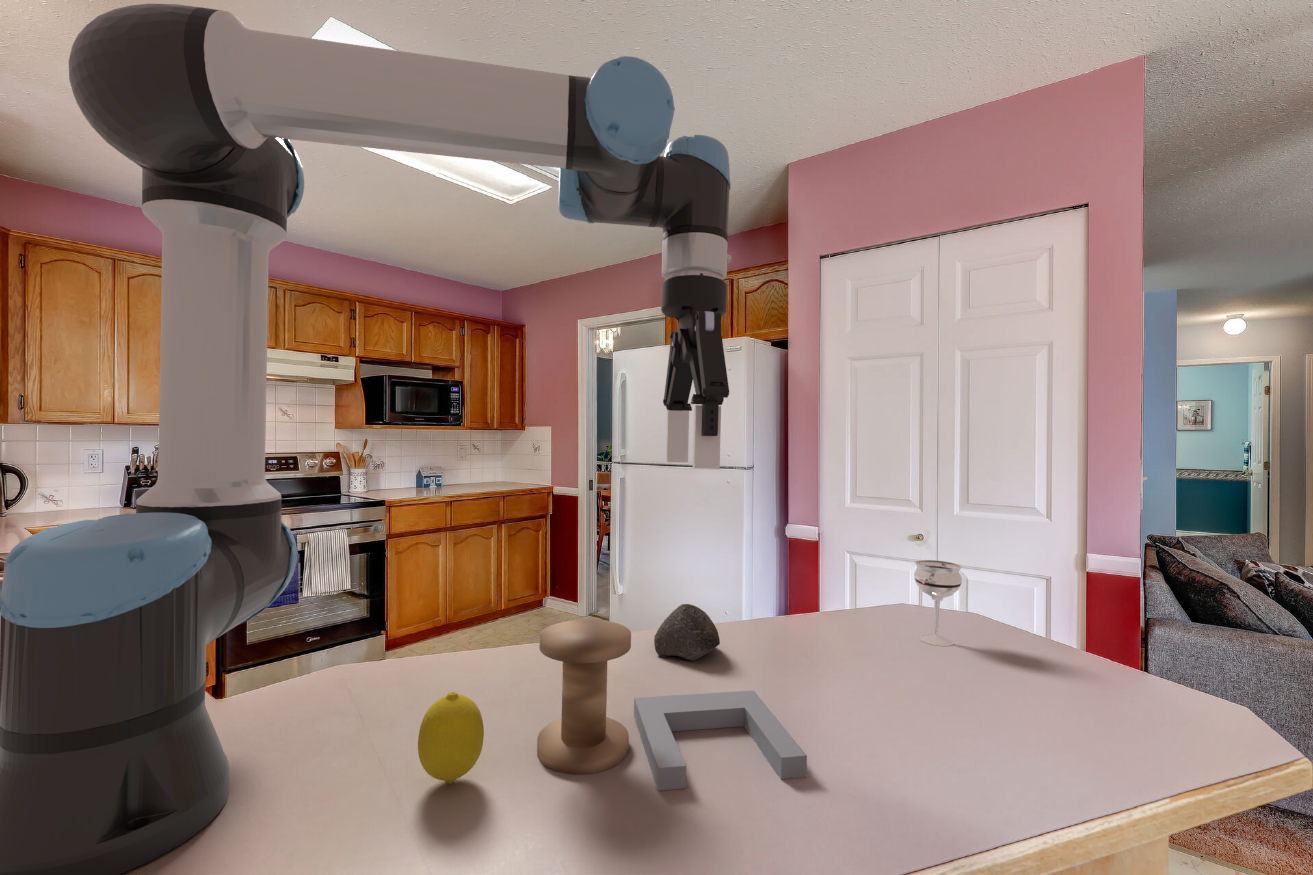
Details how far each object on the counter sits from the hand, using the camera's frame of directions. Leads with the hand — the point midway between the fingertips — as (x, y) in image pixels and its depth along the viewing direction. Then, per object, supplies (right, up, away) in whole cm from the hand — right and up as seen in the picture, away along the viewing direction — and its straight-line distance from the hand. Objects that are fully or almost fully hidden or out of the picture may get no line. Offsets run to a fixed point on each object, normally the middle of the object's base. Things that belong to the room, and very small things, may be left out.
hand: (690, 465), depth 68 cm
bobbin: (-11, -28, -9) cm, 31 cm away
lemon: (-22, -28, -16) cm, 39 cm away
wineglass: (+40, -29, +25) cm, 56 cm away
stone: (+1, -28, +17) cm, 33 cm away
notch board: (+2, -28, -8) cm, 29 cm away
